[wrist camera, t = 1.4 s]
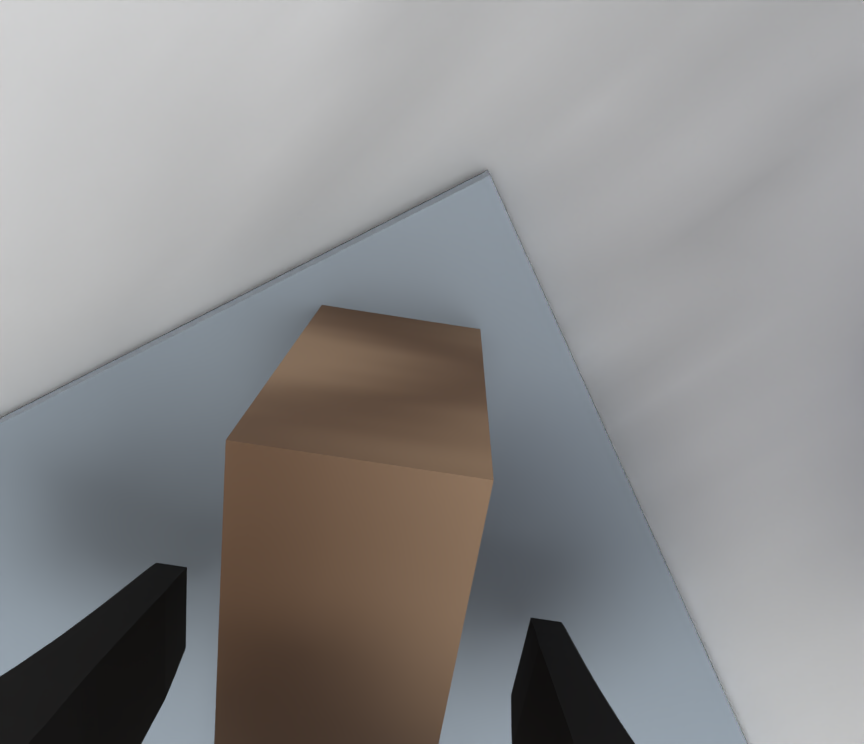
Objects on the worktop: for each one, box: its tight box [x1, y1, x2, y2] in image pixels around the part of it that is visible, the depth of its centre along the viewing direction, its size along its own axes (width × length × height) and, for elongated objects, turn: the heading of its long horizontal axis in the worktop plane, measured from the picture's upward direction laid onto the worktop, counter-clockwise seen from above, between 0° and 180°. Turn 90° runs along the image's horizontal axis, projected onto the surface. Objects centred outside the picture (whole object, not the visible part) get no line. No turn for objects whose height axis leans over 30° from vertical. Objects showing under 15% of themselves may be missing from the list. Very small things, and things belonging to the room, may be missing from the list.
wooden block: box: [214, 305, 494, 744], centre depth 12 cm, size 3×12×6 cm, turn 172°
